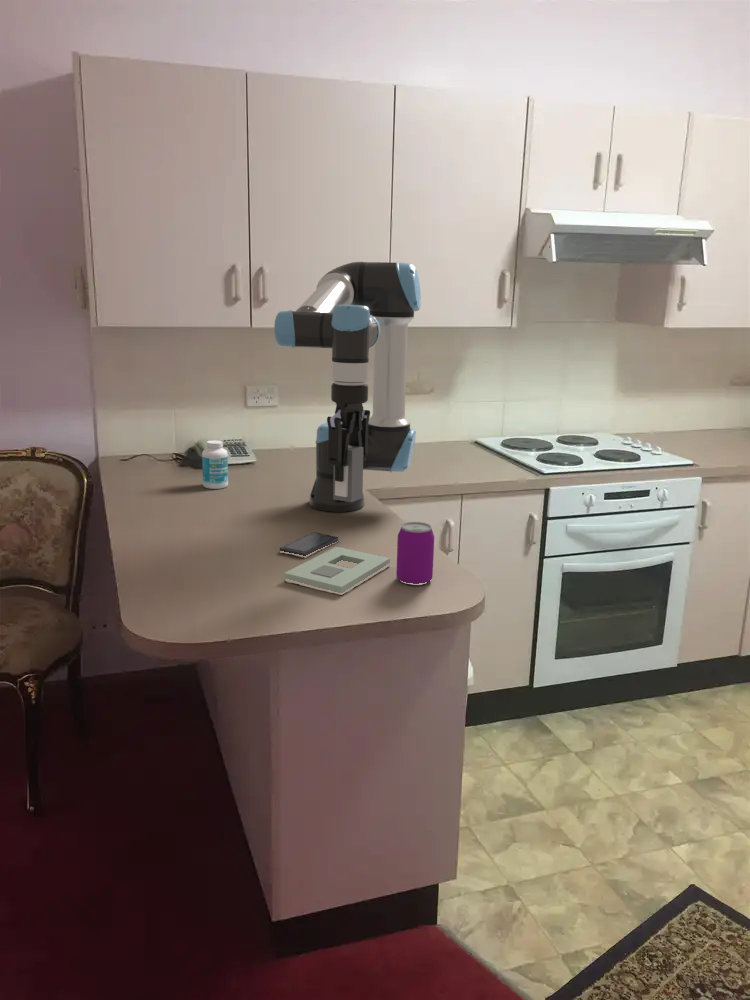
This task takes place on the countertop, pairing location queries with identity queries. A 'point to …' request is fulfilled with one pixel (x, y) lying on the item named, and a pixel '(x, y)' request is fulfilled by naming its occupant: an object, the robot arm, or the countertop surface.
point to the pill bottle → (215, 465)
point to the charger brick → (353, 475)
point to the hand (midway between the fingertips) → (347, 493)
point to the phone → (309, 544)
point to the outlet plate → (337, 569)
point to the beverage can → (415, 553)
